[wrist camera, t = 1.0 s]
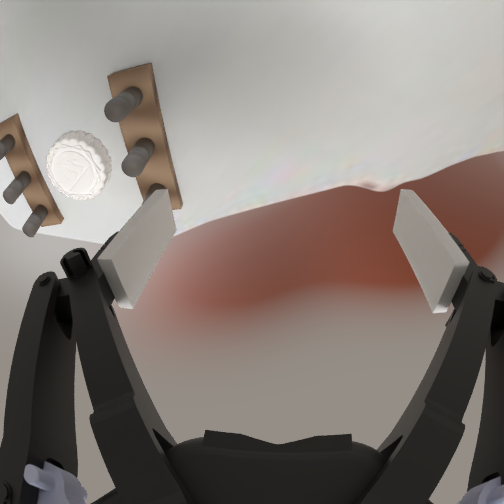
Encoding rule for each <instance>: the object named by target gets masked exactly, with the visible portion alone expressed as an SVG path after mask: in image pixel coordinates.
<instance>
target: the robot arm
mask: <svg viewBox="0 0 504 504" xmlns="http://www.w3.org/2000/svg"><path fill="white" fill-rule="evenodd" d="M175 232H176V225H175V221H174V216H173V212H172V207H171V202H170V198H169V193H168V189H161V190H155V191H154V192H153V194H152V195H151V196H150V197H149V198H148V199H147V200H146V201H145V202H144V203H143V205H142V206H141V207H140V208H139V209H138V210H137V211H136V212H135V214H134V215H133V216H132V217H131V218H130V219H129V220H128V222H127V223H126V224H125V225H124V226H123V228H122V229H121V230H120V231H119V232H116V233H115V234H114V235H112V236H111V237H110V238H109V239H108V240H107V241H106V242H105V245H103V246H102V247H101V250H99V251H98V252H97V254H96V255H95V256H94V257H93V259H92V260H90V258H89V256H88V253H87V251H86V250H85V249H84V248H76V249H73V250H71V251H69V252H68V253H66V254H65V255H64V256H63V258H62V259H61V261H60V263H61V266H62V267H63V269H64V271H65V274H66V276H67V278H63V279H59V280H58V278H57V276H56V274H55V273H54V272H46V273H43V274H42V275H40V276H39V277H38V278H37V280H36V281H35V283H34V285H33V288H32V291H31V294H30V297H29V300H28V303H27V306H26V309H25V313H24V316H23V319H22V323H21V327H20V330H19V334H18V339H17V343H16V347H15V351H14V356H13V361H12V366H11V371H10V378H9V383H8V390H7V398H6V408H5V418H4V434H3V439H2V443H1V447H0V504H85V500H86V499H87V492H86V490H85V489H84V488H83V487H82V486H81V483H80V482H79V480H78V479H77V475H78V474H77V473H78V459H77V445H76V433H75V411H74V375H75V374H74V373H75V354H76V341H77V347H78V351H79V356H80V361H81V365H82V369H83V373H84V377H85V381H86V385H87V389H88V392H89V396H90V399H91V402H92V406H93V410H94V413H93V414H91V415H90V423H91V427H92V430H93V433H94V436H95V439H96V441H97V444H98V447H99V449H100V452H101V455H102V457H103V459H104V462H105V464H106V467H107V469H108V472H109V474H110V476H111V478H112V481H113V483H114V485H115V487H116V488H115V489H113V490H112V491H110V492H109V493H107V494H106V495H104V496H103V497H101V498H99V499H98V500H96V501H95V502H93V503H91V504H433V503H432V502H431V501H430V500H429V497H430V496H431V494H432V493H433V491H434V489H435V488H436V486H437V484H438V483H439V481H440V479H441V478H442V476H443V474H444V472H445V470H446V469H447V467H448V465H449V463H450V461H451V459H452V457H453V455H454V453H455V451H456V449H457V447H458V445H459V442H460V440H461V438H462V436H463V433H464V430H465V425H464V424H463V423H462V418H463V415H464V413H465V411H466V408H467V405H468V403H469V400H470V397H471V395H472V392H473V389H474V386H475V383H476V380H477V377H478V373H479V370H480V367H481V363H482V359H483V356H484V352H485V348H486V367H485V385H484V398H483V406H482V414H481V421H480V428H479V434H478V439H477V444H476V449H475V454H474V458H473V462H472V467H471V472H470V476H469V483H468V489H467V493H466V494H465V496H464V497H463V498H462V500H461V501H459V502H458V503H457V504H504V283H502V282H498V281H497V279H496V277H495V275H494V274H493V273H492V272H491V271H490V270H488V269H487V268H484V267H480V266H477V264H476V263H475V261H474V260H473V259H472V257H471V256H470V254H469V253H468V252H467V251H466V249H465V248H464V246H463V245H462V244H461V242H460V241H459V240H458V238H456V237H455V236H454V235H453V234H451V233H448V232H447V231H446V229H445V228H444V227H443V226H442V224H441V223H440V222H439V221H438V219H437V218H436V217H435V216H434V214H433V213H432V212H431V211H430V210H429V208H428V207H427V206H426V205H425V204H424V203H423V201H422V200H421V199H420V198H419V197H418V196H417V195H416V193H415V192H414V191H413V190H404V189H401V192H400V198H399V203H398V209H397V214H396V219H395V224H394V228H393V233H394V234H395V236H396V238H397V240H398V241H399V243H400V245H401V247H402V249H403V251H404V253H405V255H406V257H407V259H408V261H409V263H410V264H411V267H412V269H413V270H414V273H415V275H416V277H417V279H418V281H419V283H420V285H421V287H422V290H423V292H424V294H425V296H426V298H427V301H428V303H429V305H430V308H431V310H432V312H433V313H439V312H446V311H447V310H448V307H449V306H450V304H451V302H452V304H453V306H454V308H455V309H454V310H453V312H452V314H451V316H450V318H449V320H448V321H447V323H446V325H445V326H446V330H445V332H444V334H443V337H442V339H441V342H440V344H439V346H438V348H437V351H436V353H435V355H434V357H433V360H432V361H431V364H430V366H429V368H428V370H427V372H426V374H425V376H424V378H423V380H422V381H421V383H420V385H419V387H418V389H417V391H416V393H415V395H414V396H413V398H412V400H411V402H410V403H409V405H408V407H407V408H406V410H405V412H404V413H403V415H402V416H401V418H400V420H399V421H398V423H397V424H396V426H395V428H394V429H393V430H392V432H391V433H390V435H389V436H388V437H387V438H386V440H385V441H384V442H383V443H382V444H381V445H380V447H379V448H378V449H377V450H375V449H374V448H372V447H370V446H367V445H364V444H362V443H358V442H353V441H352V436H351V434H343V435H327V436H314V437H310V438H306V439H302V440H298V441H294V442H289V443H285V444H272V443H269V442H265V441H262V440H258V439H255V438H252V437H249V436H246V435H242V434H236V433H226V432H218V431H210V430H205V434H204V437H200V438H195V439H191V440H188V441H184V442H182V443H179V444H177V443H176V442H175V440H174V439H173V437H172V436H171V434H170V433H169V432H168V430H167V429H166V427H165V425H164V423H163V422H162V420H161V418H160V416H159V414H158V412H157V410H156V408H155V407H154V405H153V402H152V400H151V398H150V396H149V394H148V392H147V390H146V388H145V386H144V384H143V381H142V379H141V377H140V375H139V373H138V371H137V368H136V366H135V363H134V361H133V359H132V356H131V354H130V352H129V349H128V347H127V344H126V341H125V339H124V336H123V334H122V331H121V328H120V325H119V323H118V320H117V317H116V314H115V311H114V309H113V307H112V305H111V304H112V302H113V300H114V299H115V300H116V301H117V304H118V306H119V307H120V308H128V309H133V308H134V306H135V304H136V303H137V301H138V299H139V297H140V295H141V293H142V291H143V289H144V287H145V285H146V283H147V282H148V280H149V278H150V276H151V274H152V272H153V270H154V269H155V267H156V265H157V263H158V261H159V259H160V258H161V256H162V254H163V253H164V251H165V249H166V247H167V246H168V244H169V242H170V240H171V239H172V237H173V235H174V234H175Z"/></svg>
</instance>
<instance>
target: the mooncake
mask: <svg viewBox="0 0 504 504" xmlns="http://www.w3.org/2000/svg"><path fill="white" fill-rule="evenodd" d="M107 153H108V150H107V148H106V147H105V146H102V142H101V141H100V140H99V139H95V138H94V136H93V135H92V134H90V133H88V134H86V133H85V132H83V131H79V132H75V131H72V132H70V133H69V134H65V135H63V136H62V137H61V138H60V139H59V140H58V141H57V142H55V144H54V145H53V146H52V147H51V148H50V149H49V154H48V155H47V157H46V160H47V163H46V168H47V170H48V177H49V178H50V179H52V180H51V182H52V184H53V185H54V186H56V187H57V189H58V191H59V192H61V193H64V195H65V196H66V197H72V198H73V199H74V200H79V199H81V200H87V199H88V198H89V199H92V198H94V197H95V195H98V194H99V193H100V192H101V191H102V189H103V187H104V186H105V184H106V183H107V181H108V180H109V178H110V172H111V170H112V166H111V164H110V162H111V157H110V156H109V155H108V154H107Z"/></svg>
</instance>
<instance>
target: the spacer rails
mask: <svg viewBox="0 0 504 504" xmlns="http://www.w3.org/2000/svg"><path fill="white" fill-rule="evenodd" d="M107 77H108V81H109V86H110V90H111V94H112V98H113V99H111V100H110V101H109V102H108V103H107V104H106V106H105V109H104V112H105V116H106V117H107V119H108V120H110V121H112V122H119V124H120V128H121V131H122V135H123V138H124V142H125V145H126V148H127V152H128V155H127V156H126V157H125V159H124V160H123V162H122V170H123V172H124V173H125V174H126V175H128V176H130V177H136V180H137V183H138V186H139V189H140V192H141V195H142V197H143V200H144V201H143V203H144V202H145V201H146V200H147V199H148V198H149V197H150V196H151V195H152V194H153V192H154V191H155V190H161V189H168V193H169V198H170V202H171V207H172V210H175V209H181V207H182V204H183V203H182V199H181V195H180V192H179V188H178V184H177V180H176V176H175V172H174V168H173V163H172V159H171V155H170V151H169V147H168V142H167V138H166V133H165V129H164V124H163V120H162V115H161V110H160V105H159V101H158V96H157V91H156V85H155V80H154V75H153V69H152V64H151V63H150V64H145V65H141V66H138V67H134V68H130V69H126V70H123V71H120V72H116V73H113V74H111V75H109V76H107ZM4 156H5V157H6V159H7V161H8V164H9V166H10V168H11V170H12V172H13V174H14V176H15V179H14V180H13V181H12V182H11V184H10V185H9V186H8V187H7V188H6V189H5V191H4V192H3V197H4V199H5V201H6V202H7V203H9V204H13V203H14V202H15V201H16V200H17V198H18V197H19V196H20V195H21V193H23V195H24V196H25V198H26V200H27V202H28V204H29V206H30V208H31V209H32V211H33V212H32V214H31V215H30V217H29V218H28V220H27V221H26V223H25V224H24V226H23V228H22V229H23V232H24V233H25V234H26V235H27V236H29V237H34V235H35V234H36V232H37V230H38V229H39V227H40V226H41V227H44V226H50V225H56V224H61V223H62V221H63V219H64V218H63V216H62V214H61V213H60V211H59V209H58V207H57V205H56V203H55V201H54V199H53V197H52V195H51V193H50V191H49V189H48V187H47V185H46V183H45V181H44V178H43V176H42V174H41V172H40V170H39V167H38V165H37V163H36V160H35V158H34V156H33V153H32V151H31V148H30V146H29V143H28V141H27V138H26V136H25V133H24V130H23V128H22V125H21V122H20V119H19V116H18V114H16V115H14V116H12V117H11V118H9V119H7V120H5V121H4V122H2V123H0V160H1V159H2V158H3V157H4ZM143 203H142V205H143Z"/></svg>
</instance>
